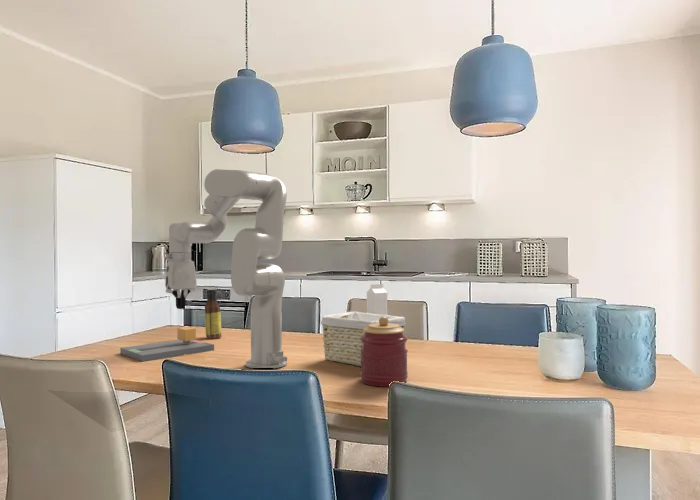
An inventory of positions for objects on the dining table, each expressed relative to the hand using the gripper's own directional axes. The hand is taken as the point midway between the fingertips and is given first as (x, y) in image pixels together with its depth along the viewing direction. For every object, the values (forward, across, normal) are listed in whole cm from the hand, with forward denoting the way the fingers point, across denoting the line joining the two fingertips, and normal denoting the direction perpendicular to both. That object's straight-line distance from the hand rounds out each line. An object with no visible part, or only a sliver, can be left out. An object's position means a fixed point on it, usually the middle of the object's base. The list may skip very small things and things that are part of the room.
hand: (180, 308), depth 186 cm
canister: (+15, +18, -81) cm, 84 cm away
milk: (+15, +64, -37) cm, 76 cm away
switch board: (+15, -5, 0) cm, 16 cm away
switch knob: (+13, +2, 0) cm, 13 cm away
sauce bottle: (+15, +21, +14) cm, 30 cm away
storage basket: (+15, +32, -60) cm, 69 cm away
